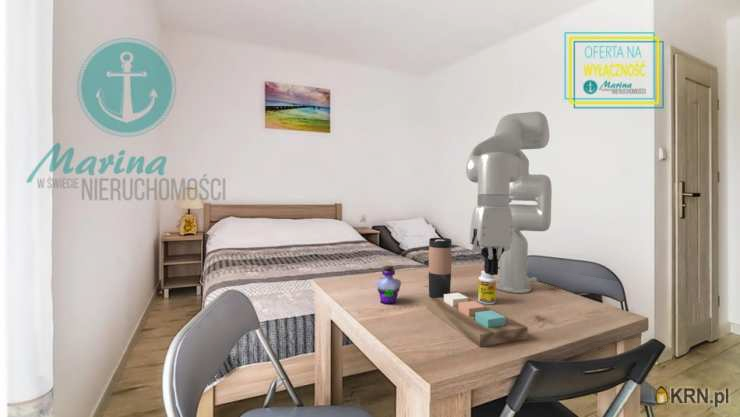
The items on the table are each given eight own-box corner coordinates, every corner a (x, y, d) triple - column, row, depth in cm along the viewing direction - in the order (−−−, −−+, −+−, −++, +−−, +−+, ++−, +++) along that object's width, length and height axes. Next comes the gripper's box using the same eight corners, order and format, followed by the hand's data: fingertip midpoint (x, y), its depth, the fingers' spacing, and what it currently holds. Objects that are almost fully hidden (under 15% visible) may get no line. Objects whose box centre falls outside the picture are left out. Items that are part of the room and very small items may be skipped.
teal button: (491, 321, 92) (491, 310, 92) (505, 328, 87) (505, 317, 87) (475, 323, 90) (475, 312, 90) (487, 331, 85) (488, 319, 85)
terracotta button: (473, 310, 100) (473, 300, 99) (485, 317, 95) (485, 306, 94) (458, 312, 98) (458, 302, 98) (468, 319, 93) (469, 308, 93)
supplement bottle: (477, 303, 112) (478, 272, 111) (477, 298, 117) (478, 269, 116) (496, 305, 110) (497, 274, 109) (495, 300, 115) (496, 270, 115)
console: (465, 304, 111) (465, 294, 111) (527, 338, 86) (527, 327, 86) (426, 308, 107) (426, 299, 107) (479, 346, 81) (480, 334, 81)
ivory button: (458, 302, 107) (458, 292, 107) (468, 307, 102) (468, 297, 102) (443, 303, 105) (443, 294, 105) (452, 309, 101) (453, 299, 100)
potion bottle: (381, 307, 108) (381, 270, 107) (371, 299, 116) (371, 264, 115) (406, 304, 111) (406, 267, 110) (394, 296, 119) (394, 262, 118)
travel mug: (449, 293, 123) (450, 237, 121) (452, 300, 115) (453, 241, 114) (427, 292, 123) (428, 237, 122) (429, 299, 116) (429, 240, 114)
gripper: (507, 201, 93) (505, 268, 94) (459, 201, 88) (457, 272, 89) (527, 202, 85) (525, 275, 86) (476, 202, 81) (474, 279, 82)
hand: (490, 273), depth 88 cm, fingers closed
